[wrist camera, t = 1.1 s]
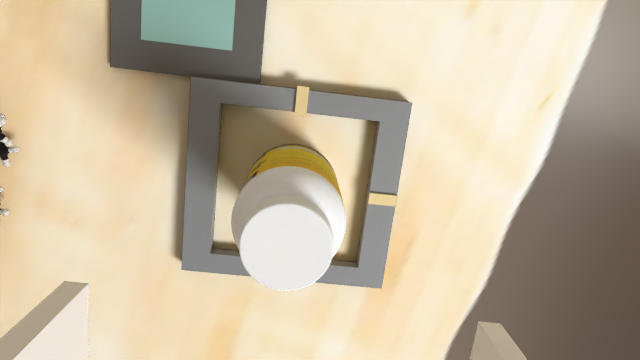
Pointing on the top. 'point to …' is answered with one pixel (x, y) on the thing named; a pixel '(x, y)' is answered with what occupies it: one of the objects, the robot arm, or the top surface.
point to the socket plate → (301, 101)
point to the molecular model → (5, 155)
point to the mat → (189, 37)
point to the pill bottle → (289, 218)
